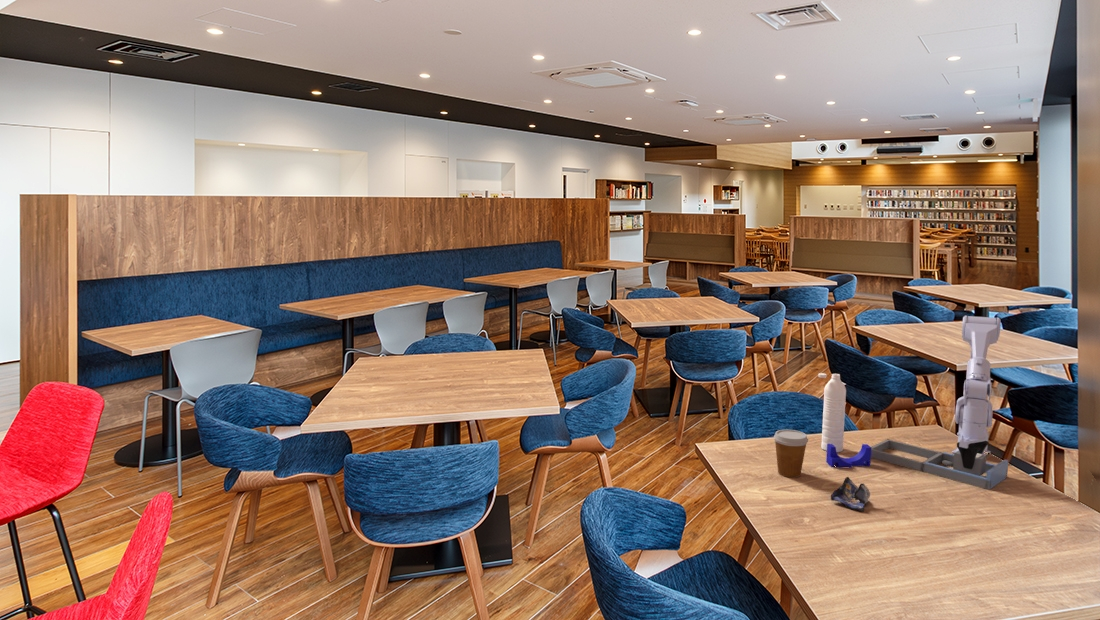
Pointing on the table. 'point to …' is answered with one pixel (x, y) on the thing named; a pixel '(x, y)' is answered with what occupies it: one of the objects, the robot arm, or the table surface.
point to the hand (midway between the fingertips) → (970, 466)
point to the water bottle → (833, 412)
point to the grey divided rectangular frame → (930, 465)
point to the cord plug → (977, 468)
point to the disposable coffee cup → (790, 451)
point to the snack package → (851, 495)
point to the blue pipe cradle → (858, 460)
